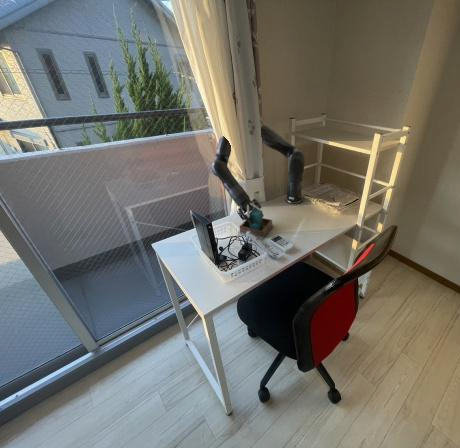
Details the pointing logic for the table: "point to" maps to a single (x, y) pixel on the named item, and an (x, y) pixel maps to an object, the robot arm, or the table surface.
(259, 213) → the block
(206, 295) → the table surface
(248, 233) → the caliper
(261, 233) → the box
